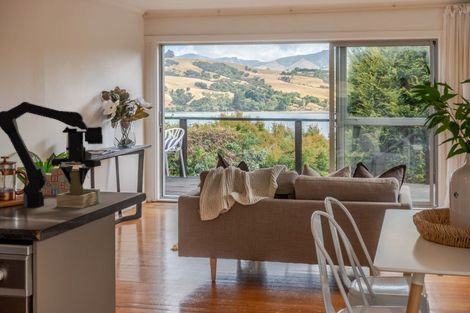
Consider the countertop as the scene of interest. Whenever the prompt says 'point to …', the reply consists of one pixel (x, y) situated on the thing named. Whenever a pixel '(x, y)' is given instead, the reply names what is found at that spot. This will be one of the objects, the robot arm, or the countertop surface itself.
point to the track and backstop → (94, 191)
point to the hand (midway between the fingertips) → (76, 184)
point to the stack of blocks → (56, 182)
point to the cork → (75, 184)
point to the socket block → (76, 199)
